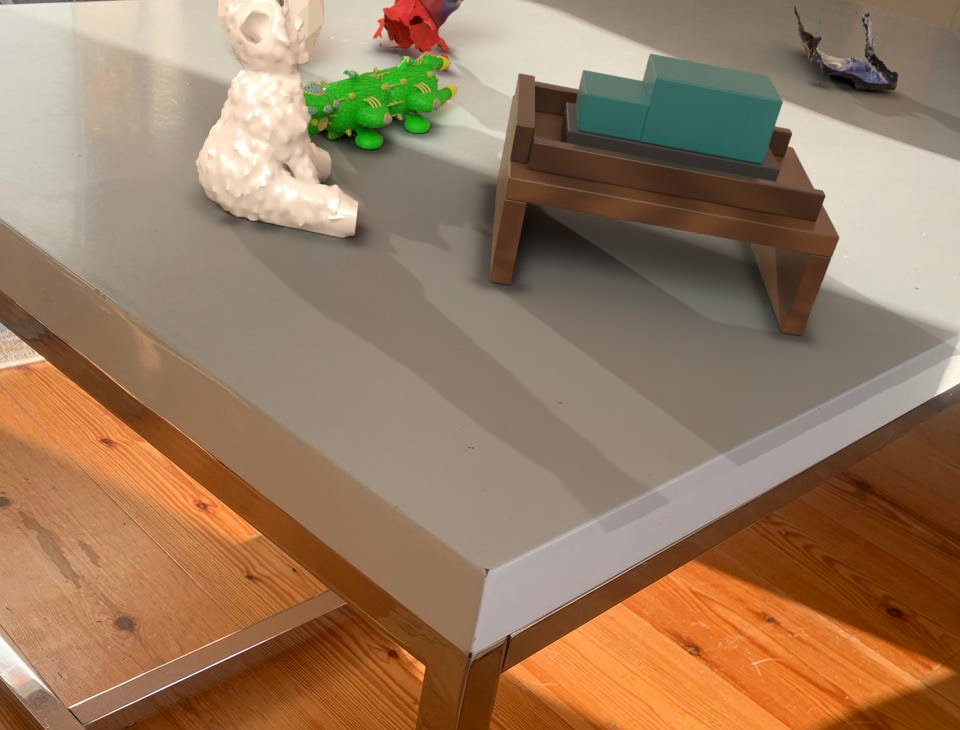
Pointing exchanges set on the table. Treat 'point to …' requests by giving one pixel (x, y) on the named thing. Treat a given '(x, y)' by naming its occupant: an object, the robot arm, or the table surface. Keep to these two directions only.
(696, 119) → the teal stepped block
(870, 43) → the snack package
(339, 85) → the crocodile figurine
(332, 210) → the white creature statuette
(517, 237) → the shoe shelf
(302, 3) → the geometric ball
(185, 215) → the table surface
